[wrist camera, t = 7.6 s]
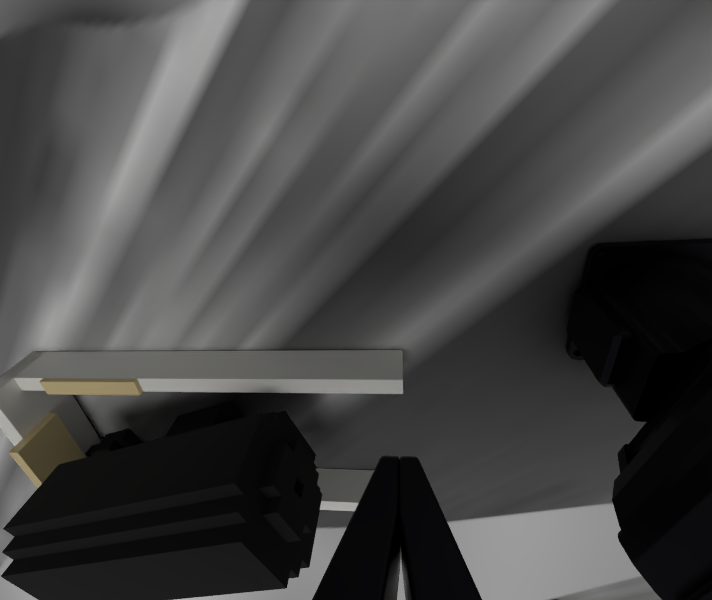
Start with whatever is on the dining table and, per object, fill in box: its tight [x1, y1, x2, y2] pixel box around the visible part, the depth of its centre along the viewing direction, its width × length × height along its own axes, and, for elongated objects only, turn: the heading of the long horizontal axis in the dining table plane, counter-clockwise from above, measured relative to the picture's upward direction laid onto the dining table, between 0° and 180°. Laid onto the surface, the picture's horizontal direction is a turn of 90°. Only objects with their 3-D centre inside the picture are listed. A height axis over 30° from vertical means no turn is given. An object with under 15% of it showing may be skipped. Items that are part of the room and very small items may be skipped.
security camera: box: [1, 401, 322, 600], centre depth 23 cm, size 7×18×10 cm, turn 113°
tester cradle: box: [0, 350, 403, 511], centre depth 25 cm, size 24×12×5 cm, turn 94°
